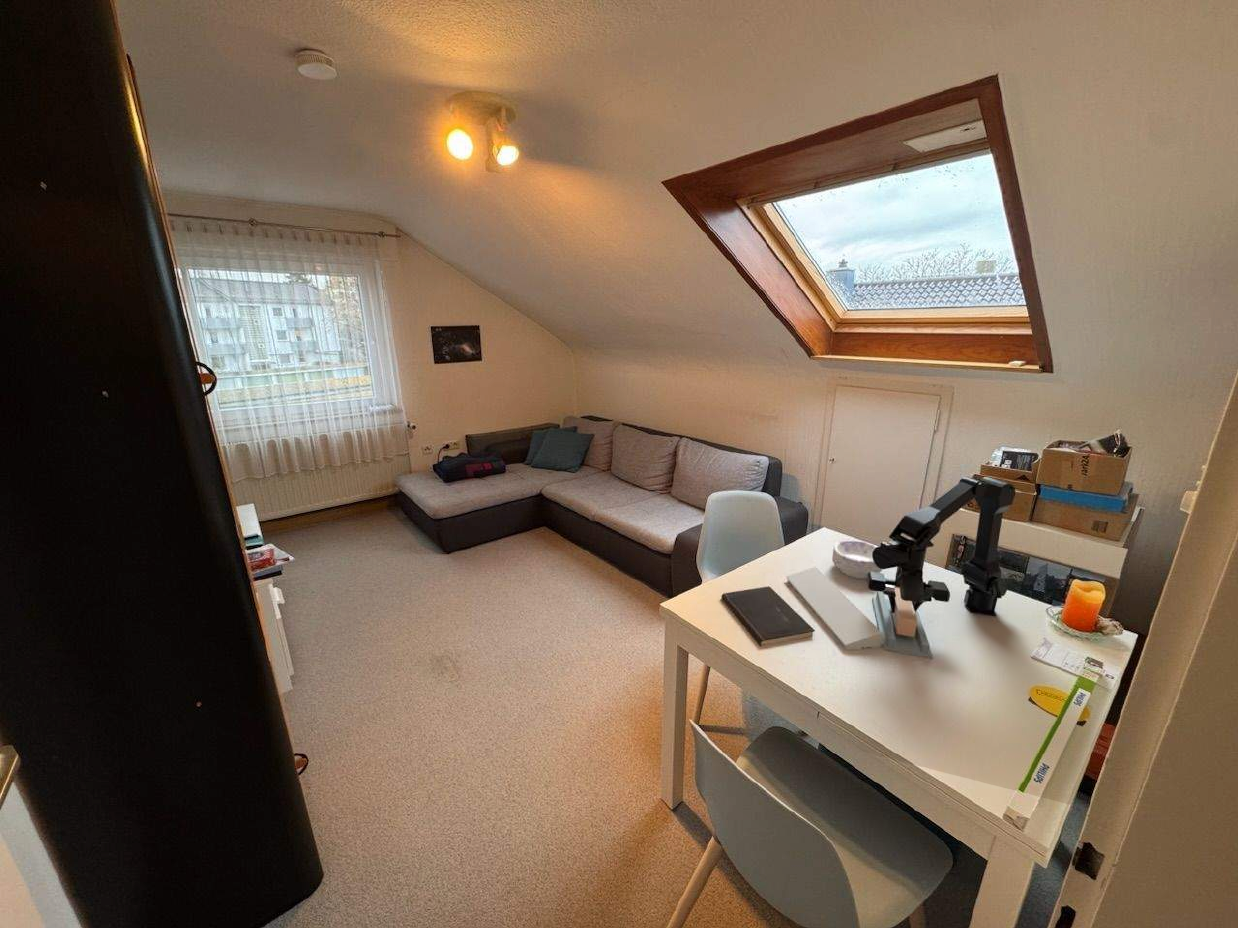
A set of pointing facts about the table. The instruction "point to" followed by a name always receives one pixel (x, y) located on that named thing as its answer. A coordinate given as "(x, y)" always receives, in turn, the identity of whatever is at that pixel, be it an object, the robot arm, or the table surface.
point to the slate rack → (896, 641)
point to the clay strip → (904, 616)
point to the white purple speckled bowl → (854, 558)
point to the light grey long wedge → (836, 610)
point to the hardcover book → (766, 615)
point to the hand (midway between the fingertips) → (901, 613)
